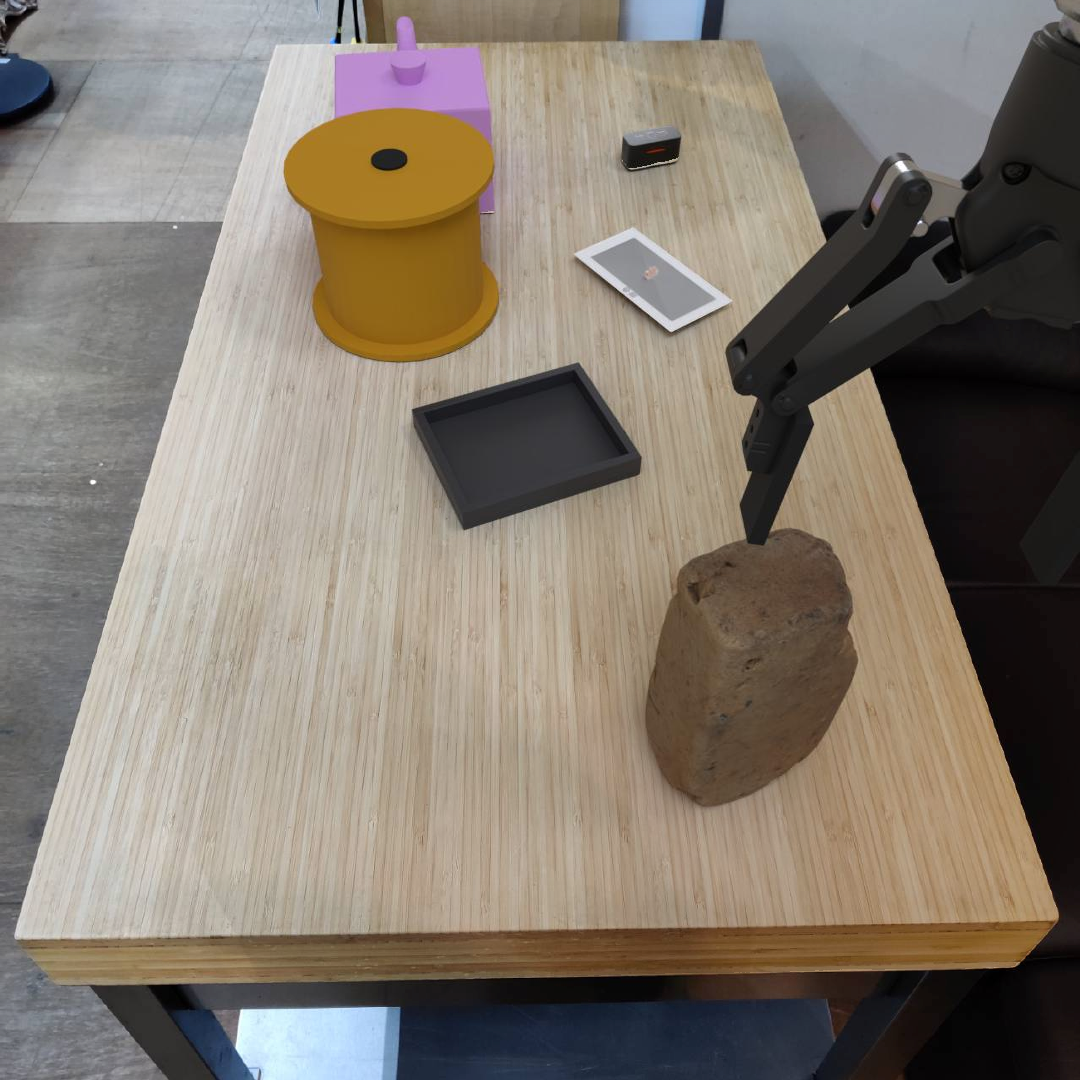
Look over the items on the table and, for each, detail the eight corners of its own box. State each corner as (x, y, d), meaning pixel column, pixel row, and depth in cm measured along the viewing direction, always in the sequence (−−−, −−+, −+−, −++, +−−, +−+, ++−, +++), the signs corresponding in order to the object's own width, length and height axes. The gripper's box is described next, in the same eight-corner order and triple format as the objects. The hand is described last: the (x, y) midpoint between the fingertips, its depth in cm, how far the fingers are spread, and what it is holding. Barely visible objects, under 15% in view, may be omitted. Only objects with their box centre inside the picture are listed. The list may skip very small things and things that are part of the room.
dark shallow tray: (640, 474, 82) (642, 456, 80) (463, 530, 78) (462, 513, 76) (577, 379, 89) (578, 361, 87) (413, 426, 85) (411, 408, 83)
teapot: (477, 118, 118) (472, -6, 107) (498, 240, 102) (494, 109, 91) (350, 125, 116) (331, 1, 105) (352, 250, 101) (329, 119, 90)
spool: (481, 236, 103) (474, 96, 91) (515, 347, 92) (512, 204, 80) (307, 257, 100) (277, 116, 88) (320, 374, 89) (288, 230, 77)
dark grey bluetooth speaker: (686, 162, 112) (690, 135, 109) (628, 173, 110) (630, 146, 108) (670, 142, 114) (673, 115, 112) (613, 152, 113) (614, 125, 110)
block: (675, 825, 63) (721, 659, 47) (631, 725, 67) (660, 543, 52) (825, 774, 65) (918, 600, 49) (773, 681, 69) (843, 494, 54)
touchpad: (632, 236, 103) (634, 218, 101) (731, 310, 95) (734, 291, 93) (572, 263, 100) (573, 244, 98) (669, 341, 92) (672, 323, 91)
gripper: (1440, 80, 35) (1117, 528, 49) (761, -52, 33) (624, 457, 46) (1609, 156, 29) (1189, 639, 43) (801, 3, 27) (631, 564, 41)
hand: (895, 545), depth 45 cm, fingers open, 13 cm apart
